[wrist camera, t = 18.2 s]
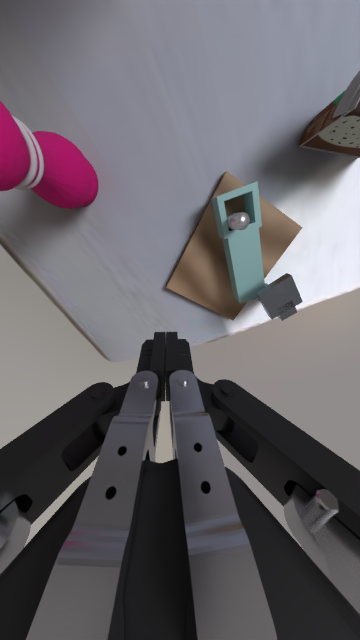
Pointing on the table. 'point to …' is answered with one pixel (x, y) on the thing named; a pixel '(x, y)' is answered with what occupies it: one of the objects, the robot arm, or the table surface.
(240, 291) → the teal bar with hole
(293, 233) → the board
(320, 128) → the food container
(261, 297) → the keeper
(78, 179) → the pepper mill
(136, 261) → the table surface
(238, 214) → the capsule
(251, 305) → the table surface
